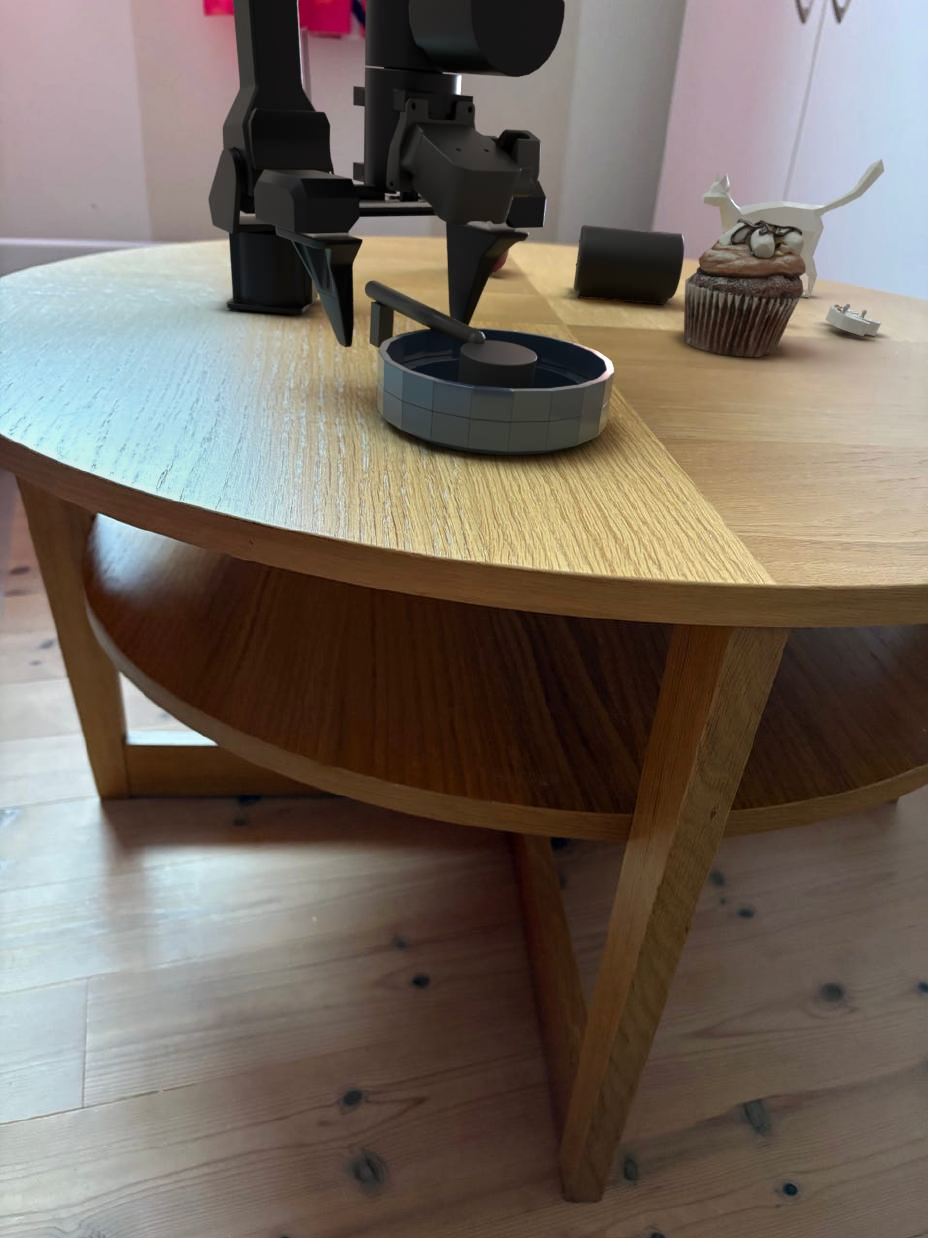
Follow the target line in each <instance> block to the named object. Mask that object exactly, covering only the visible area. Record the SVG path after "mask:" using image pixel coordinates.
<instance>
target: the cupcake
mask: <svg viewBox="0 0 928 1238" xmlns="http://www.w3.org/2000/svg"><path fill="white" fill-rule="evenodd" d="M801 236H802V231H801V230H800V229H798V228H796V227H794V226H780V225H776V224H772V223H767V222H765V221H763V220H760V221H759V222H756V223H755V224H752V223H751V222H750V221H746V220H743V219H738V221H737V225H736V226H734V227H733V228H732V229H730V230H729V231H728V232H726V233H725V234H723V233H722V235H719V237H718V239H717V241H716V242H715V243H714V244H713V245H712V246H711V247H710V248H708V249H707V250H706V251H704V252H703V253H702V254H701V255H700V256H699V258H698V264H699V266H698V267H697V268H696V270H695V271H696V272H694V273H693V274H691V275H690V277H687V278H686V279H685V281H684V311H683V312H684V313H683V314H684V315H683V341H684V342H685V343H686V344H687V345H690V346H691V347H693V348H694V349H695V348H696V349H699V350H701V351H704V352H705V351H706V352H711V353H715V354H719V355H724V356H733V357H746V358H755V357H756V358H760V357H762V356H769V355H773V354H774V353H775V352H776V350H777V348H778V346H779V343H780V341H781V340H782V337H783V335H784V333H785V330H786V328H787V326H788V323H789V320H791V318H792V315H793V313H794V311H795V310H796V307H797V306H798V303H799V301H800V299H801V298H802V297H801V295H802V294H803V293H804V285H803V280H802V279H801V277H802V275H805V272H806V265H805V263H804V260H803V258H802V257H801V256H800V254H801V251H802V248H803V245H804V241H803V238H802V237H801ZM800 276H801V277H800ZM799 277H800V278H799Z"/></svg>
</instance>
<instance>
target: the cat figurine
mask: <svg viewBox="0 0 928 1238" xmlns="http://www.w3.org/2000/svg"><path fill="white" fill-rule="evenodd" d="M884 172H885V167H884V162H883V158H880V159H879V160H877V161H874V162H873V163H871V164H870V165H869V166H868V168H867V169H866V170H865V172H864V173H863V174H862V176H861V177H860V178H859V179H858V181H857V182H856V184H855V185H854V186H853V187H852V189H851V190H849V191H848V192H847V193H845V194H843V195H842V196H840V197H838V198H836V199H834V200H831V201H829V202H827V203H825V204H814V203H813V204H811V203H803V202H795V201H788V200H775V201H773V200H772V201H765V202H757V203H753V204H747V205H742V206H738V205H736V204H735V202H734V201H733V198H732V196H731V195H732V194H731V190H730V188H731V187H730V186H731V185H730V181H729V176H728V173H726V174H725V175H724V176H723V177H722V178H721V175H720V172H719V171H717V173H716V175H715V177H714V181H713V183H712V184H711V185H710V188H709V190H708V191H707V192H705V193H704V194H701V196H700V197H701V198H700V202H701V203H702V204H705V205H707V206H709V207H712V208H713V207H716V208H718V210H719V214H720V221H721V227H722V228H721V229H722V235H723V234H725V233H726V232H728V231H729V230H730V229H732V228H733V227H734V226H736V225H737V221H738V219H743V220H746V221H750V222H751V223H752V224H755V223H756V222H759V221H760V220H763V221H765V222H767V223H772V224H776V225H780V226H794V227H796V228H798V229H800V230H801V231H802V236H801V237H802V238H803V241H804V245H803V248H802V251H801V254H800V256H801V257H802V258H803V260H804V263H805V265H806V272H805V273H804V275H806V276H807V291H806V292H803V294H802V295H801V297H800V298H810V296H811V294H812V292H813V290H814V287H815V284H816V282H817V277H818V272H817V269H816V263H815V259H814V255H815V252H816V249H817V247H818V244H819V242H820V238H821V236H822V233H823V230H824V228H825V226H824V224H823V220H822V218H823V216H824V215H825V214H826V213H827V212H831V211H833V210H836V209H839V208H841V207H844V206H845V205H848V204H849V203H852V202H853V201H855V200H857V199H859V198H861V197H862V196H863V195H864V194H865V193H866V192H867V191H868V190H869V189H870V188H871V186H873V185H874V183H875V182H876V181H877V180H878V179H879V178H880V177H881V175H882V174H883V173H884ZM801 277H802V275H801V276H800V277H799V278H800V279H801Z"/></svg>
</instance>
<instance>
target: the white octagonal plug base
mask: <svg viewBox="0 0 928 1238" xmlns="http://www.w3.org/2000/svg"><path fill="white" fill-rule="evenodd" d="M850 307H851V304H850V303H846V304H845V305H844V306H842V305H839V304H834V305H832V304H831V305H830V307H829V309H828V312H827V314H826V316H825V321H826V322H828V323H829V324H830V325H831V326H834V327H835V328H838V329H840V330H842V331H845V332H848V333H851V334H854V335H857V336H861V337H864V336H865V335H869V336H873V337H875V336H876V335H877V333H878V332H879V329H880V326H881V325H882V322H879V321H877V320H874V319H870V318H868V317H865V316H866V314H867V313H868V312H867V310H866V309H863V310H862V311H861V314H860V315H859V312H858V311H856V310H852V309H850ZM800 315H803V313H802V314H799V316H800ZM808 315H810V316H811V313H808ZM796 316H798V314H797V315H795V317H796ZM812 316H814V317H815V315H813V314H812ZM815 319H816V320H818V318H817V317H815ZM792 320H793V318H790V319H789V321H792ZM819 320H821V321H822V319H819ZM789 321H788V322H789Z"/></svg>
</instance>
